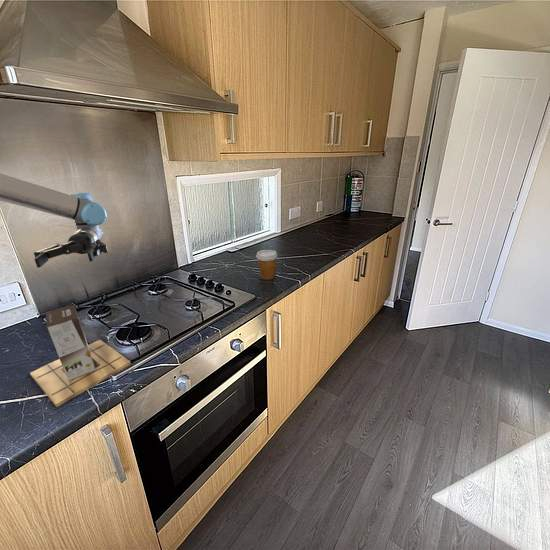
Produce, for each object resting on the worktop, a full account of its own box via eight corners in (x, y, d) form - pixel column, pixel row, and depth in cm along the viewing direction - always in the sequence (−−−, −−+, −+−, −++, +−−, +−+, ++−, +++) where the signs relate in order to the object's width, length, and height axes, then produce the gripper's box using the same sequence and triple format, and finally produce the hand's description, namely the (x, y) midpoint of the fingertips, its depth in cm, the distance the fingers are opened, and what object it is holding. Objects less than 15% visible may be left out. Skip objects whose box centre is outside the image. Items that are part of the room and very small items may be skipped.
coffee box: (96, 370, 77) (78, 317, 71) (67, 381, 74) (46, 327, 67) (91, 353, 84) (74, 303, 78) (64, 362, 80) (44, 312, 74)
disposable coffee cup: (265, 272, 140) (264, 248, 135) (282, 276, 134) (281, 251, 130) (253, 279, 133) (251, 254, 128) (269, 283, 127) (268, 258, 123)
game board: (57, 409, 68) (55, 403, 67) (31, 377, 78) (29, 372, 77) (131, 365, 81) (130, 360, 80) (101, 343, 91) (99, 338, 90)
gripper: (123, 247, 110) (113, 266, 92) (46, 255, 104) (18, 277, 85) (118, 227, 107) (107, 243, 89) (39, 234, 101) (8, 253, 82)
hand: (64, 260), depth 87 cm, fingers open, 13 cm apart
